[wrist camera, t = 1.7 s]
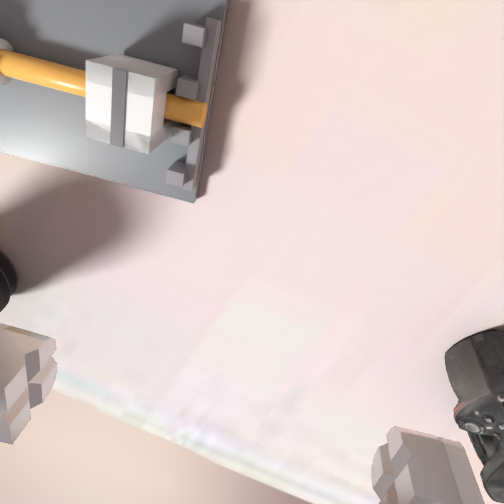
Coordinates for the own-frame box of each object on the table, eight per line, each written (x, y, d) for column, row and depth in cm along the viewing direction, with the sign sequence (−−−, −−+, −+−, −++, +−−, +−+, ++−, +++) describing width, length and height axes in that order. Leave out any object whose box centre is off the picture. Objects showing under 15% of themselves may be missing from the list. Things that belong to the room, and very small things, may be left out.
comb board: (-41, -79, 25) (-95, -93, 21) (229, -8, 24) (216, -11, 21) (-12, 143, 32) (-49, 158, 29) (196, 199, 32) (182, 220, 28)
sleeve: (118, 53, 26) (84, 60, 22) (178, 69, 26) (154, 78, 22) (115, 121, 28) (84, 137, 25) (170, 136, 28) (148, 154, 25)
